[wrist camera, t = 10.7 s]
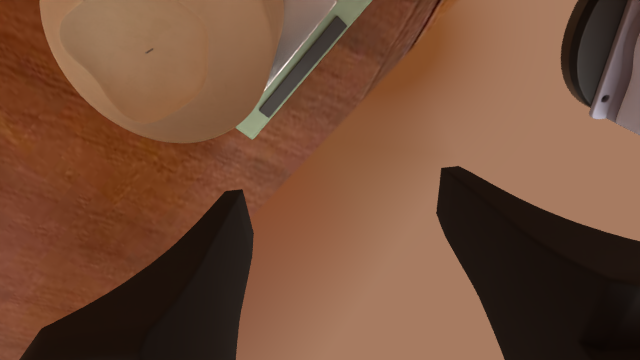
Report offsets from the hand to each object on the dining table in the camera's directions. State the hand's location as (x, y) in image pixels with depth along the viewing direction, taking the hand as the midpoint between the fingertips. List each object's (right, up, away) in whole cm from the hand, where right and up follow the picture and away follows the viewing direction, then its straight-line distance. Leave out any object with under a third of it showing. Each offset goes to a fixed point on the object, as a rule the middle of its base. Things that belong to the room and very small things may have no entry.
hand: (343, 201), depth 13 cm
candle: (-5, +9, +3) cm, 11 cm away
